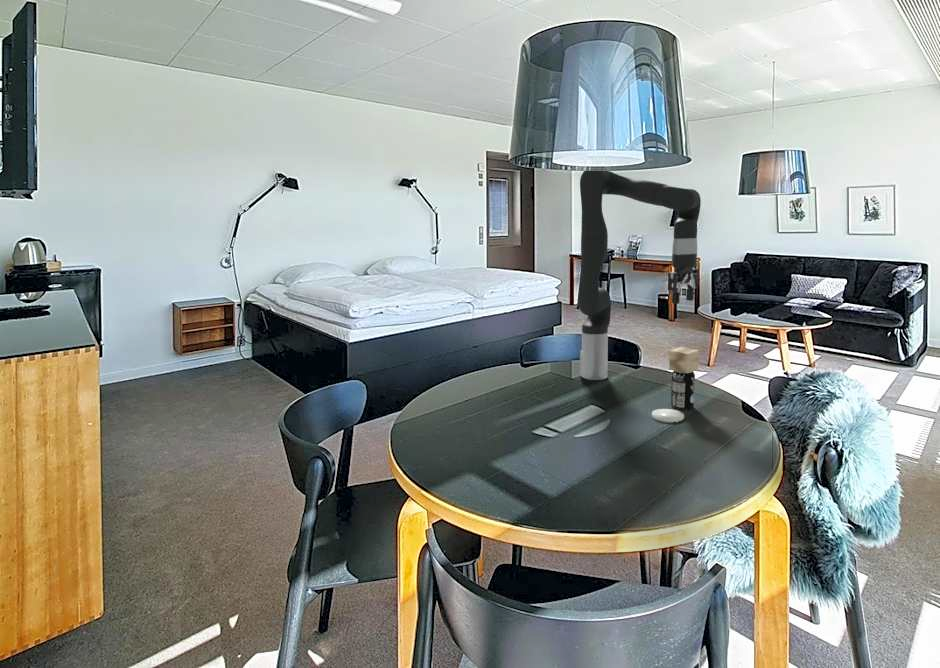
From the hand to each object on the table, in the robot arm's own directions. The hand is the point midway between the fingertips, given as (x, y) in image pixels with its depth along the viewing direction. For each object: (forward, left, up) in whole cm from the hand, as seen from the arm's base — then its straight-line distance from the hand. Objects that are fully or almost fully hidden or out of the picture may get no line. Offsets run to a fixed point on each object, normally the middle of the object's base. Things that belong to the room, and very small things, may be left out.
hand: (682, 301), depth 182 cm
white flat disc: (+12, -26, -30) cm, 42 cm away
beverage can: (+10, -15, -30) cm, 35 cm away
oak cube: (+10, -15, -18) cm, 26 cm away
